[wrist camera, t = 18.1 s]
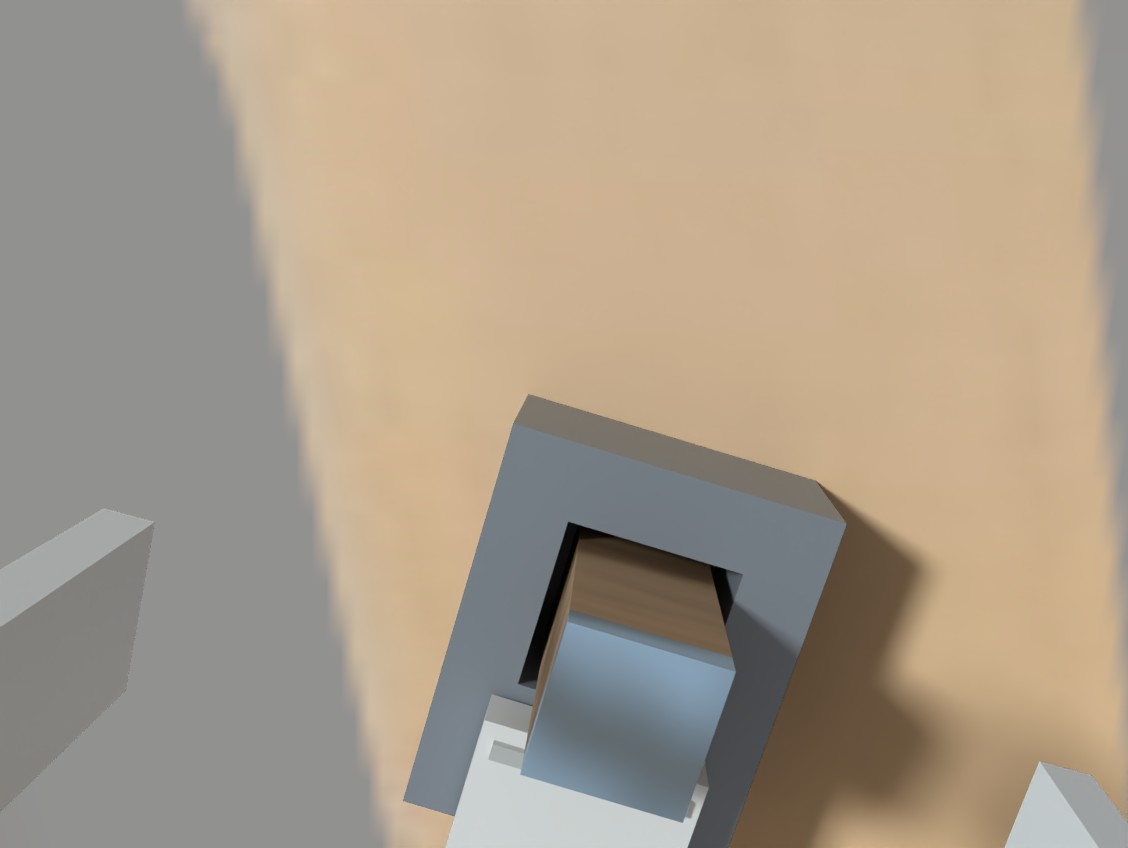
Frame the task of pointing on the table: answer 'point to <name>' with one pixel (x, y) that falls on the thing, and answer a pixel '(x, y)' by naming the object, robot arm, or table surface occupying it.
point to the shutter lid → (548, 801)
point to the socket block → (651, 517)
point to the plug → (629, 676)
